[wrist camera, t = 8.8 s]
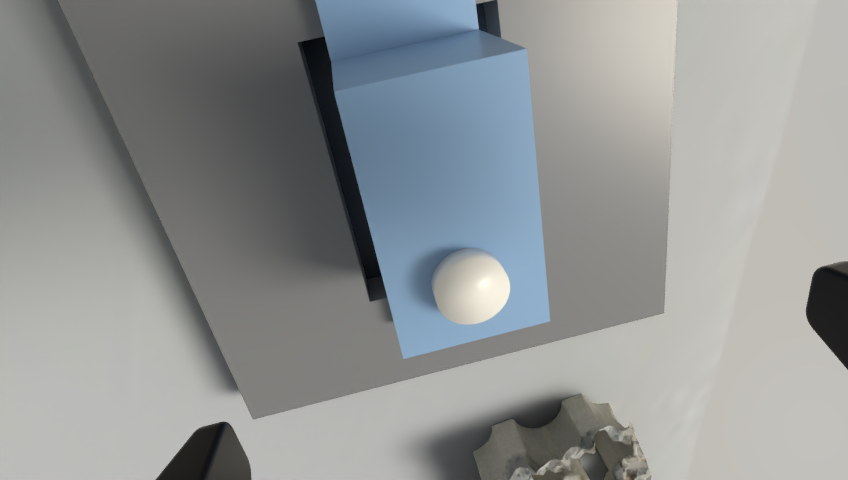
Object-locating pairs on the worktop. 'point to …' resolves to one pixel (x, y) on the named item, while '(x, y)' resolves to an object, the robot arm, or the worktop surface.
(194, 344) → the worktop surface
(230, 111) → the chassis
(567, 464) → the egg carton
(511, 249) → the servo
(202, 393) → the worktop surface
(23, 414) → the worktop surface
